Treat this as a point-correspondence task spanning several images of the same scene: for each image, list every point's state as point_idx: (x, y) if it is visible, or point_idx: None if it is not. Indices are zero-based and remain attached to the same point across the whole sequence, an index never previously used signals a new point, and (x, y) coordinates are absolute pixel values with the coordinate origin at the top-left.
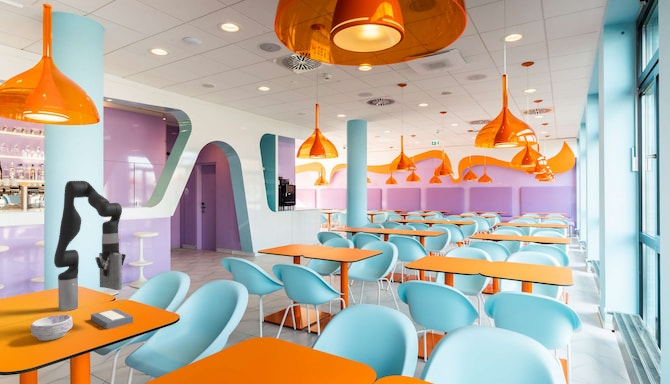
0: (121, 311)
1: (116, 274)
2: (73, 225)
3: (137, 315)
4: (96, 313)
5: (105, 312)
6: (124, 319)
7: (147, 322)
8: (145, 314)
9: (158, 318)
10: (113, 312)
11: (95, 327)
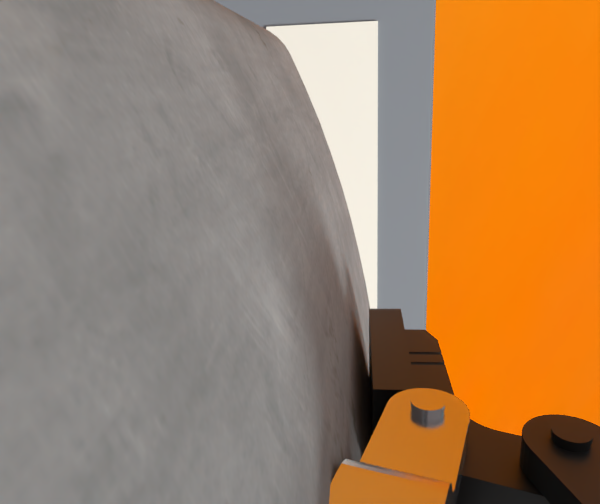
0: (428, 133)
1: None
2: None
3: (527, 187)
4: (252, 9)
5: (315, 58)
6: None
7: (483, 409)
8: (582, 213)
9: (581, 389)
10: (363, 120)
11: None
